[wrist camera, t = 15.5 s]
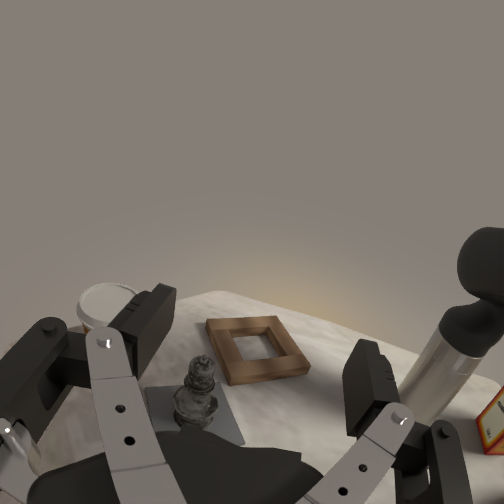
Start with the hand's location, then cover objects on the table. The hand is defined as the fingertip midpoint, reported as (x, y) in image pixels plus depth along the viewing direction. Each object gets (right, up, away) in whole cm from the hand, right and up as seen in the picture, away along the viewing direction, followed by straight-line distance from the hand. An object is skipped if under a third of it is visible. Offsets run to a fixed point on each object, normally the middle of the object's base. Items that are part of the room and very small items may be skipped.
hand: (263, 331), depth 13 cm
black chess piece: (-8, -18, +24) cm, 31 cm away
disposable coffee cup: (-21, -14, +28) cm, 38 cm away
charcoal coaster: (-8, -19, +24) cm, 31 cm away
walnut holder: (0, -14, +39) cm, 42 cm away
